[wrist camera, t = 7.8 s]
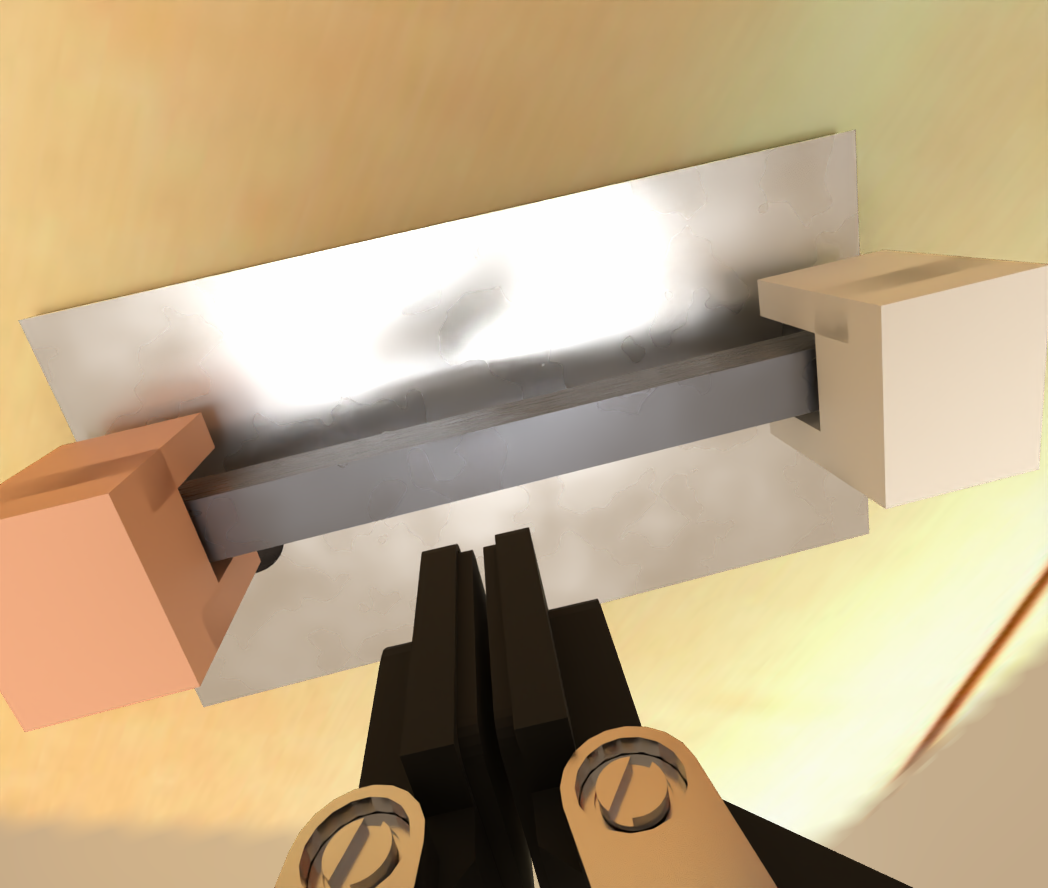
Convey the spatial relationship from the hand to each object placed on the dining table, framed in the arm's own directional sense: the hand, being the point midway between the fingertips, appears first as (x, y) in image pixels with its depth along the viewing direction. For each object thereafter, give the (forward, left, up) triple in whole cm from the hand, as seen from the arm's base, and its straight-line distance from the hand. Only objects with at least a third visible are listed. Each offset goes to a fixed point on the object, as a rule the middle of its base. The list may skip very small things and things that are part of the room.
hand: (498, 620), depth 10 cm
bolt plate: (-1, +1, -13) cm, 13 cm away
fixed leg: (-11, 0, -12) cm, 16 cm away
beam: (-1, 0, -13) cm, 13 cm away
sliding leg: (+9, 0, -11) cm, 15 cm away
